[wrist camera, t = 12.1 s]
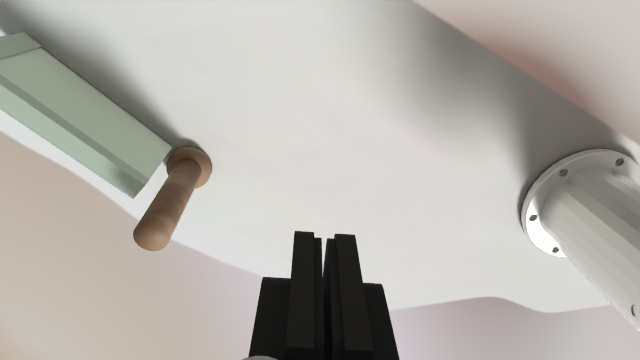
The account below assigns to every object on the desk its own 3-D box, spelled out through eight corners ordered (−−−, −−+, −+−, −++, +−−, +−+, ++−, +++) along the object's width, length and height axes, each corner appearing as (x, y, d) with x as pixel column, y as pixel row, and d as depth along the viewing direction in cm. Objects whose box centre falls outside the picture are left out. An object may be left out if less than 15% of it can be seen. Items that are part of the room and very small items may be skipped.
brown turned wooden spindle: (220, 167, 39) (192, 238, 29) (192, 191, 41) (155, 269, 30) (189, 138, 38) (146, 201, 27) (160, 164, 39) (109, 235, 28)
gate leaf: (173, 145, 38) (145, 185, 31) (163, 157, 38) (133, 198, 31) (23, 31, 33) (-53, 47, 26) (14, 46, 33) (-63, 66, 26)
